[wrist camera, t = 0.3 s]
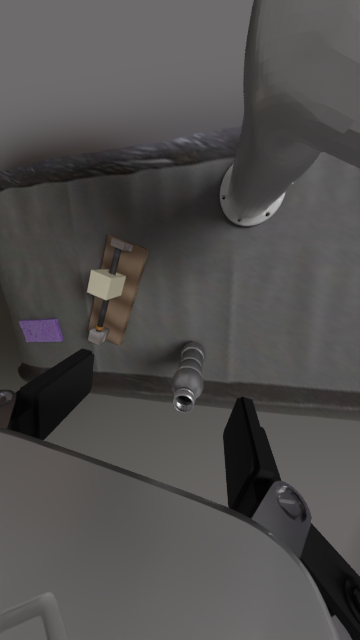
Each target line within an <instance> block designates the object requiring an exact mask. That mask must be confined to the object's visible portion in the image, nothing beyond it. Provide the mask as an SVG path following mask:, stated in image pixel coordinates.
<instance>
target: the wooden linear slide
mask: <svg viewBox="0 0 360 640" xmlns="http://www.w3.org/2000/svg"><path fill="white" fill-rule="evenodd" d="M148 253H149V250H147V249H145V248H142V247H140V246H137V245H135V244H133V243H130V242H128V241H125V240H123V239H120V238H118V237H115V236H113V235H110V234H108V239H107V243H106V248H105V253H104V257H103V262H102V267H101V269H110V272H109V273H110V274H112V275H116V272H117V273H119V274H122V275H124V276H126V279H125V283H124V286H123V290H122V294H121V296H118V297H115V298H112V299H109V300H104V299H102V298H99V297H97V296H95V299H94V304H93V309H92V313H91V318H90V323H89V327H88V332H90V333H89V337H88V341H91V342H93V343H95V344H97V345H99V344H100V343H102V342H103V341H105V339H106V340H108V341H111V342H113V343H115V344H117V345H120V344H121V343H122V340H123V337H124V334H125V330H126V327H127V323H128V320H129V317H130V313H131V310H132V307H133V303H134V300H135V296H136V293H137V290H138V286H139V283H140V280H141V276H142V273H143V269H144V266H145V263H146V259H147V256H148Z"/></svg>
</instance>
